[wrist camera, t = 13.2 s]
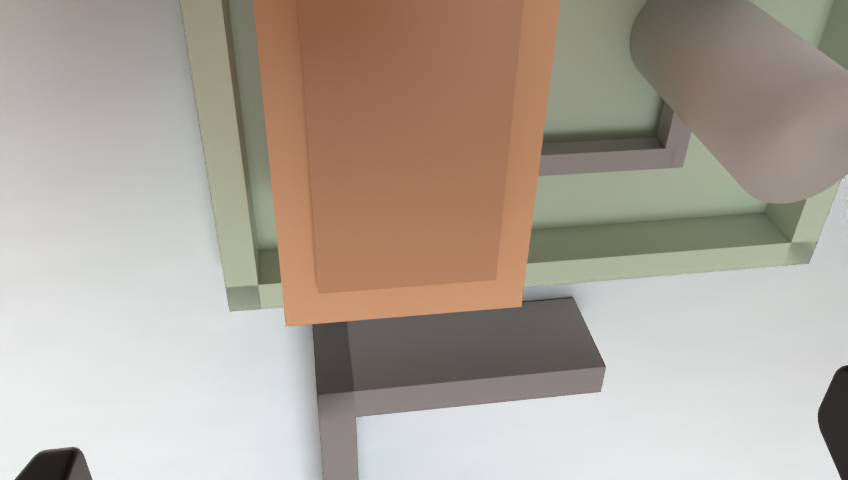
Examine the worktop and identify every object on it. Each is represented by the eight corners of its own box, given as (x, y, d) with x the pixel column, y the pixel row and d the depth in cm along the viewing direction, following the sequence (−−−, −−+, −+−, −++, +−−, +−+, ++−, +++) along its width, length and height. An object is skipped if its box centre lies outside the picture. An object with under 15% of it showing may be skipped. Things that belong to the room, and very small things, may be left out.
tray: (942, -267, 17) (1009, -259, 15) (775, 225, 24) (808, 263, 23) (150, -278, 15) (135, -271, 13) (232, 266, 22) (229, 311, 20)
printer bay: (573, 297, 25) (606, 366, 22) (533, 530, 32) (555, 601, 29) (312, 320, 24) (316, 395, 21) (331, 555, 31) (336, 632, 28)
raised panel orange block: (701, 170, 22) (808, 298, 18) (283, 195, 20) (286, 342, 16) (785, -147, 17) (960, -81, 13) (251, -146, 16) (244, -71, 11)
